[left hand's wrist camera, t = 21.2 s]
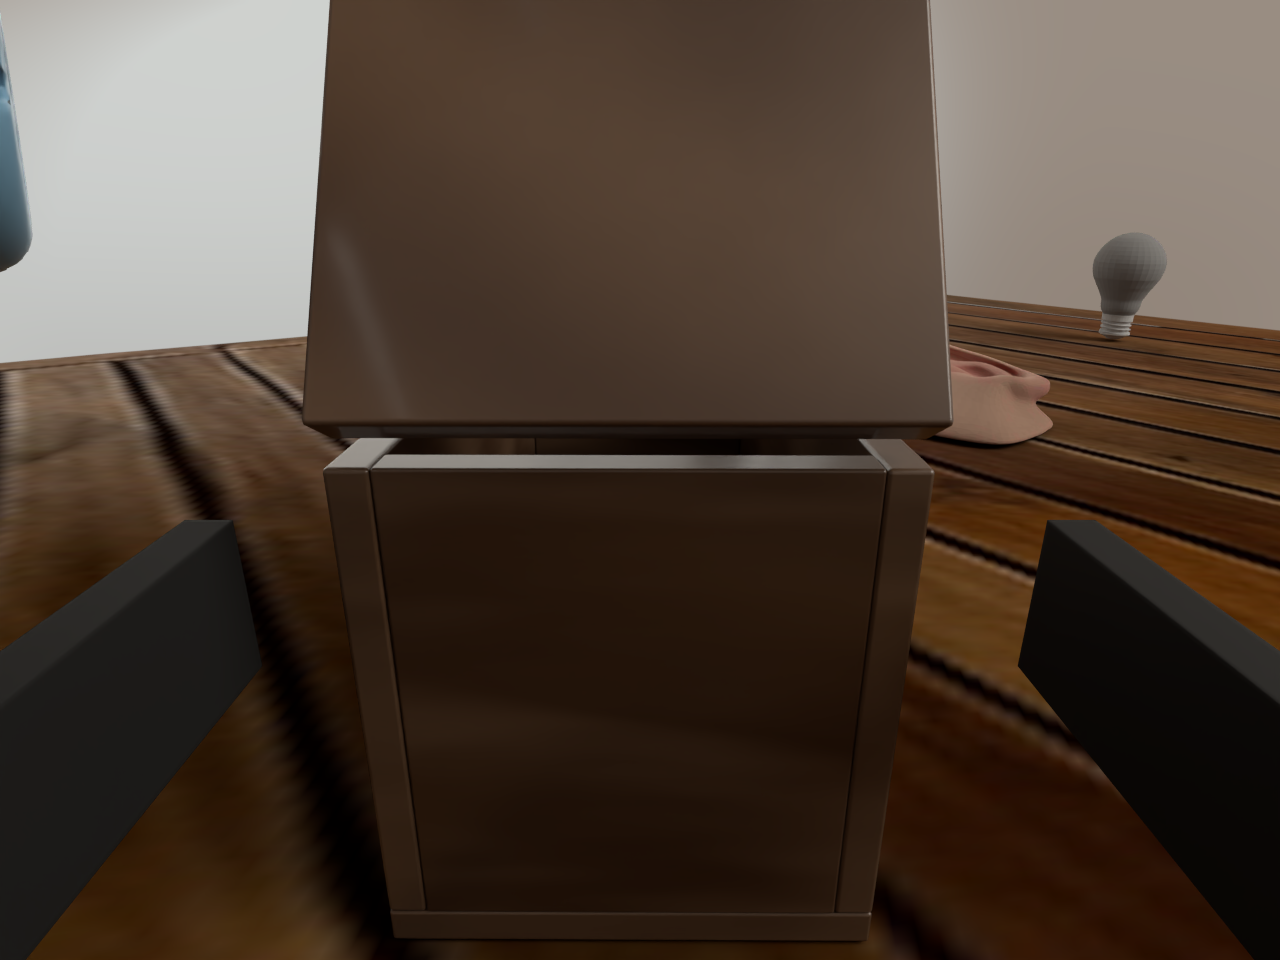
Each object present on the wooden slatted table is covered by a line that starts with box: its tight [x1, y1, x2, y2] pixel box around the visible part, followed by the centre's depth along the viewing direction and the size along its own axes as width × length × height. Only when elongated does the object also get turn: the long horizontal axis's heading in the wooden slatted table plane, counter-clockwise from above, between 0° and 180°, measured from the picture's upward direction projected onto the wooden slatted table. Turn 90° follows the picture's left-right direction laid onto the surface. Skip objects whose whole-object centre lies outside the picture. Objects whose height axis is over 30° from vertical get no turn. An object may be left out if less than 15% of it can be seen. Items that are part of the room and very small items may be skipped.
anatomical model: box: [934, 345, 1053, 445], centre depth 49 cm, size 13×4×12 cm
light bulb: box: [1093, 233, 1167, 339], centre depth 74 cm, size 6×6×10 cm
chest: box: [323, 438, 934, 941], centre depth 21 cm, size 17×9×10 cm, turn 0°
